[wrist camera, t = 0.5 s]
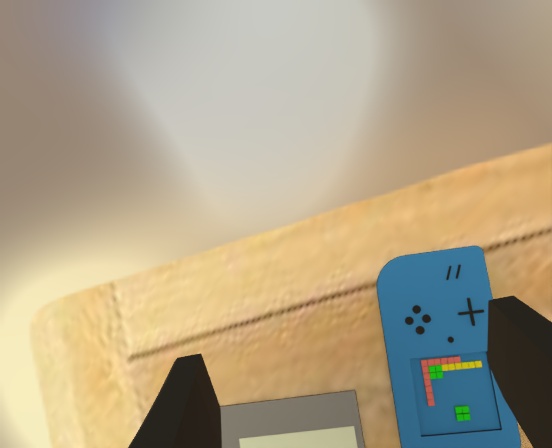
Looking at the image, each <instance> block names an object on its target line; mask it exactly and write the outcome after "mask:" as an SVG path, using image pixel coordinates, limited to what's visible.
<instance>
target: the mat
mask: <svg viewBox="0 0 552 448" xmlns="http://www.w3.org/2000/svg"><path fill="white" fill-rule="evenodd" d="M220 408H221V430H222V448H365V446H364V440H363V434H362V428H361V422H360V416H359V410H358V404H357V398H356V392H355V390H351V391H343V392H334V393H326V394H318V395H310V396H302V397H294V398H285V399H277V400H269V401H261V402H253V403H244V404H236V405H228V406H220Z"/></svg>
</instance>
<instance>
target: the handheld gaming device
mask: <svg viewBox="0 0 552 448" xmlns="http://www.w3.org/2000/svg"><path fill="white" fill-rule="evenodd" d="M377 293H378V299H379V306H380V312H381V319H382V325H383V331H384V338H385V344H386V351H387V357H388V363H389V370H390V376H391V383H392V389H393V395H394V402H395V408H396V415H397V421H398V427H399V434H400V440H401V447H402V448H520V447H521V440H520V435H519V430H518V424H517V420H516V418H515V416H514V415H513V413H512V411H511V410H510V408H509V406H508V405H507V403H506V401H505V399H504V397H503V395H502V393H501V391H500V389H499V387H498V385H497V383H496V380H495V378H494V376H493V373H492V371H491V369H490V367H489V364H488V362H487V341H488V300H493V298H492V293H491V288H490V283H489V278H488V273H487V268H486V263H485V258H484V253H483V250H482V249H481V248H480V247H478V246H469V247H462V248H455V249H448V250H440V251H433V252H426V253H419V254H412V255H405V256H400V257H397V258H395V259H393V260H391V261H390V262H388V263H387V264H386V265H385V266H384V267H383V269H382V270H381V272H380V274H379V277H378V281H377Z"/></svg>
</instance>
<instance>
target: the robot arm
mask: <svg viewBox="0 0 552 448" xmlns="http://www.w3.org/2000/svg"><path fill="white" fill-rule="evenodd" d="M487 362H488V364H489V367H490V369H491V371H492V373H493V376H494V378H495V380H496V383H497V385H498V387H499V389H500V391H501V393H502V395H503V397H504V399H505V401H506V403H507V405H508V406H509V408H510V410H511V411H512V413H513V415H514V416H515V418H516V420H517V421H518V423H519V425H520V426H521V428H522V430H523V431H524V433H525V434H526V436H527V438H528V439H529V441H530V443H531V444H532V446H533V448H552V322H550V321H549V320H548V319H546V318H545V317H543V316H542V315H540V314H539V313H538V312H536V311H535V310H533V309H532V308H530V307H529V306H528V305H526V304H525V303H523V302H522V301H520V300H519V299H517V298H516V297H515V296H509V297H504V298H498V299H493V300H488V341H487ZM128 448H222V430H221V408H220V406H219V403H218V400H217V397H216V394H215V391H214V389H213V386H212V383H211V380H210V377H209V375H208V372H207V369H206V366H205V363H204V360H203V358H202V355H201V354H196V355H190V356H185V357H180V358H177V359H176V361H175V362H174V364H173V366H172V368H171V370H170V372H169V374H168V376H167V378H166V380H165V382H164V384H163V386H162V388H161V390H160V392H159V394H158V396H157V398H156V400H155V402H154V403H153V405H152V407H151V409H150V411H149V413H148V414H147V416H146V418H145V420H144V422H143V423H142V425H141V427H140V429H139V430H138V432H137V434H136V436H135V437H134V439H133V441H132V442H131V444H130V445H129V447H128Z"/></svg>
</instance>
